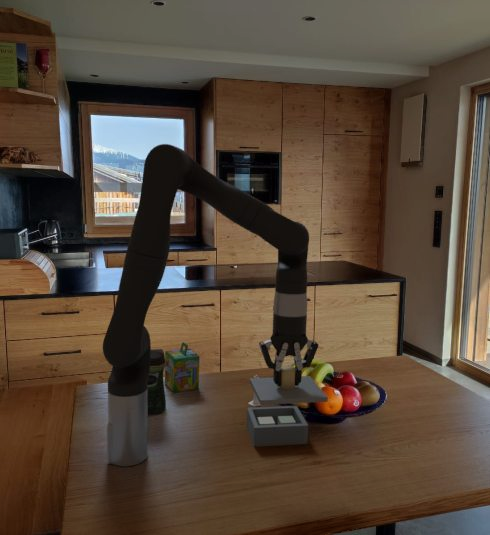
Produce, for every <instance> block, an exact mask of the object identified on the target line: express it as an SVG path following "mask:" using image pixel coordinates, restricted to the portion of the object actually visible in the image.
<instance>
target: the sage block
mask: <svg viewBox="0 0 490 535" xmlns="http://www.w3.org/2000/svg"><path fill="white" fill-rule="evenodd" d="M280 424H296V422H295V420H294V418H293V416H278V425H280Z"/></svg>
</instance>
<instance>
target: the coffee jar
mask: <svg viewBox="0 0 490 535" xmlns="http://www.w3.org/2000/svg"><path fill="white" fill-rule="evenodd" d="M164 371H165V353H164V349H162V348H157V349H156V348H155V349H151V355H150V374H149V378H148V388H147V395H148V399H147V400H148V416H149V415H158V414H159V415H160V414H162V413H164V412H165V411H166V408H167V405H166V404H167V402H166V401H167V400H166V392H165V383H164V382H165V379H164Z"/></svg>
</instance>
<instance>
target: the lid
mask: <svg viewBox="0 0 490 535" xmlns="http://www.w3.org/2000/svg"><path fill="white" fill-rule="evenodd" d="M294 367H295V366H292V365H282V366H281V386H277V385H276V384H275V383H274V380H273V377H259V378H254V377H251V378H249V384H250V386H251V388H252V390H253V392H254V393H255V395H256V397H257V399H258V401H259V403H260V406H262V405H284V404H287V405H288V404H289V405H290V404H307V403H323V402H324V403H325V402H328V398H329V397H328V396H327V395H326V393H325V392H324V391H323V390H322V388H321V387H320V386H319V385H318V384H317V383H316V382H315V380H314V379H313V378H312V377H311V375H302V377H301V383H299V385H298V386H295V372H296V368H294ZM254 393H253V394H254Z"/></svg>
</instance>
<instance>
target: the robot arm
mask: <svg viewBox="0 0 490 535" xmlns="http://www.w3.org/2000/svg"><path fill="white" fill-rule="evenodd" d="M142 171H143V173H142V181H141V188H140V194H139V195H140V196H139V202H138V207H137V211H136V215H135V217H134V220H133V221H134V222H133V224H132V229H131V232H130V237H129V240H128V244H127V248H126V251H125V256H124V261H123V266H122V271H121V276H120V281H119V284H118V285H119V286H118V291H117V297H116V301H115V306H114V309H113V312H112V315H111V319H110V321H109V323H108V326H107V330H106V331H105V335H104V338H103V342H102V352H103V356H104V358H105V360H106V361H107V363H108V364H110V365H111V366H112V368H111V371H110V375H108V376H109V377H108V379H107V415H108V416H107V417H108V418H107V420H108V421H107V425H106V442H107V443H106V449H107V451H106V452H107V454H106V455H107V456H106V458H107V464H108V465H111V464H112V465H114V466H118V467H130V466H131V467H132V466H136V465H138V464H140V463H142V462H144V461H145V460H146V459H148V454H149V452H148V450H149V445H148V432H149V431H148V428H149V427H148V421H149V420H148V416H149V415H148V400H147V399H148V395H147V388H148V378H149V374H150V355H151V350H152V348H151V346H152V345H151V344H152V343H151V335H150V333H149V330H148V329H147V327H146V326H145V321H146V317H147V313H148V310H149V308H150V306H151V304H152V302H153V300H154V297H155V296H156V294H157V292H158V289H159V287H160V286H161V282H162V280H163V277H164V274H165V270H166V266H167V262H168V257H169V254H170V249H171V216H172V214H171V213H172V210H173V205H174V202H175V199H176V196H177V192H178V191H182V192H183V193H185V194H189V195H192V196H194V197H195V198H197V199H199V200H201V201H203V202H204V203H205V204H207V205H209V206H210V207H212V208H213V209H215V211H217V212H218V213H220V214H221V215H222V216H224V217H225V218H227V219H228V220H230V221H231V222H233V223H235V225H238V226H239V227H241V228H243V229H245V230H246V231H248V232H250V233H252V234H254V235H256V236H258V237H260V238H261V239H263V241H264V242H266V243H268V244H269V245H271V246H272V247H273V248H275V249H277V268H276V272H275V283H274V284H275V287H274V291H275V292H274V296H273V297H274V298H273V305H272V311H273V312H272V313H273V314H272V316H273V317H272V332H271V333H272V335H271V336H270V338H269V339H268V340H266V341H262V340H261V341H259V342H258V346H259V348H260V350H261V354H262V357H263V360H264V362H265V365H266V366H267V368H268V369H269V370H271V369H272V370H273V372H272V373H273V374H272V375H273V380H274V383H275V384H276V385H277V386H281V367H282V366H283V362H284V360H285V358H286V357H289V356H291V357H293V361H294V362H293V363H294V366H293V367H294V368H296V372H295V386H298V385H299V383H301V377H302V376H303V375H302V373H303V370H304V369H305V368H310V367H311V366H312V362H313V360H314V357H315V355H316V354H317V350H318V348H319V343H318V342H317V341H316V340H314V339H309V338H308V336H307V321H308V319H307V318H308V295H307V293H308V292H307V291H308V269H307V267H308V266H307V264H308V255H309V243H310V233H309V231H308V229H307V227H306V226H305V225H304V224H303V223H300V222H299V221H294V220H292V219H291V218H288V217H287V216H285V215H283V214H281V213H280V212H277V211H275V210H274V209H273V208H272V207H271V206H269V205H268V203H265V202H263V201H261V200H259V199H258V198H257V197H254V196H252V195H251V194H249V193H248V192H245V191H244V190H242V189H240V188H239V187H238V188H237V187H236V186H234V185H232V184H230V183H228V182H226V181H224V180H222V179H220V178H219V177H217V176H215V175H214V174H213V173H211V172H210V171H209V170H207V169H205V167H203V166H202V165H200V163H198V162H197V161H196V160H194V159H193V158H192V157H191V156H190V155H189V154H188V153H187V152H186V151H185V150H183V149H182V148H180V147H177V146H175V145H172V144H168V143H161V144H158V145H156V146H154V147H153V148H151V149H150V151H149V152H148V153H147V156H146V158H145V160H144V164H143V170H142ZM271 346H273V348H274V349H275V354H274V360H273V361H272V358H271V356H270V355H271V354H270V353H269V352H270V351H271ZM305 346H306V351H305V354H304V355H303V359H302V354H301V353H302V350H304V348H305Z"/></svg>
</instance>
